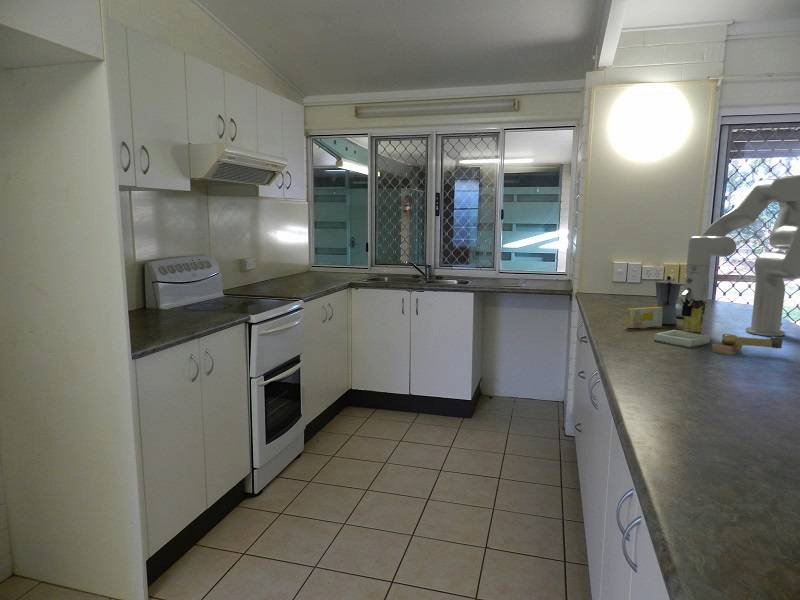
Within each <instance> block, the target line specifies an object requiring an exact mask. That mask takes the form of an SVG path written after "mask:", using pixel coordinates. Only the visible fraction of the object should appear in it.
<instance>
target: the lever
mask: <svg viewBox="0 0 800 600" xmlns="http://www.w3.org/2000/svg"><path fill="white" fill-rule="evenodd" d="M783 340H784V339H783V337H782V336H770V339H767V338H756V337H744V336H743V337H742V336H737V335H736V334H730V333H729V334H728V333H724V334H722V339H721V342H722V343H725V344H739V345H742V346H753V347H763V348H773V349H782V347H783Z"/></svg>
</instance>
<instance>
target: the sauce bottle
mask: <svg viewBox="0 0 800 600" xmlns="http://www.w3.org/2000/svg"><path fill="white" fill-rule="evenodd" d="M688 301H689V300H688ZM691 306H692V312H691V316H690V317H688V316H684V318H683V324H682V325H683V327H682V331H683V332H689V333H695V334H700V335H702V331H703V318H704V314H703V307H704V304H703V300H700V301H695V300H693V302H692V304H691Z"/></svg>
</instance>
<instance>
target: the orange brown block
mask: <svg viewBox="0 0 800 600" xmlns="http://www.w3.org/2000/svg"><path fill="white" fill-rule="evenodd" d="M742 347H743V345H739V344H725V343H722V341H721V342H717V343H713V344H712V346H711V352H713V353H718V354H723V355H728V356H732V355H735V354H737V353H738V354H739V353H741V352H742Z"/></svg>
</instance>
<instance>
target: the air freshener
mask: <svg viewBox="0 0 800 600" xmlns="http://www.w3.org/2000/svg"><path fill="white" fill-rule="evenodd" d="M682 307H683V305H682V294H679V296H678V300H677V303H676V318H680V319H684V316H682Z"/></svg>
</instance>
